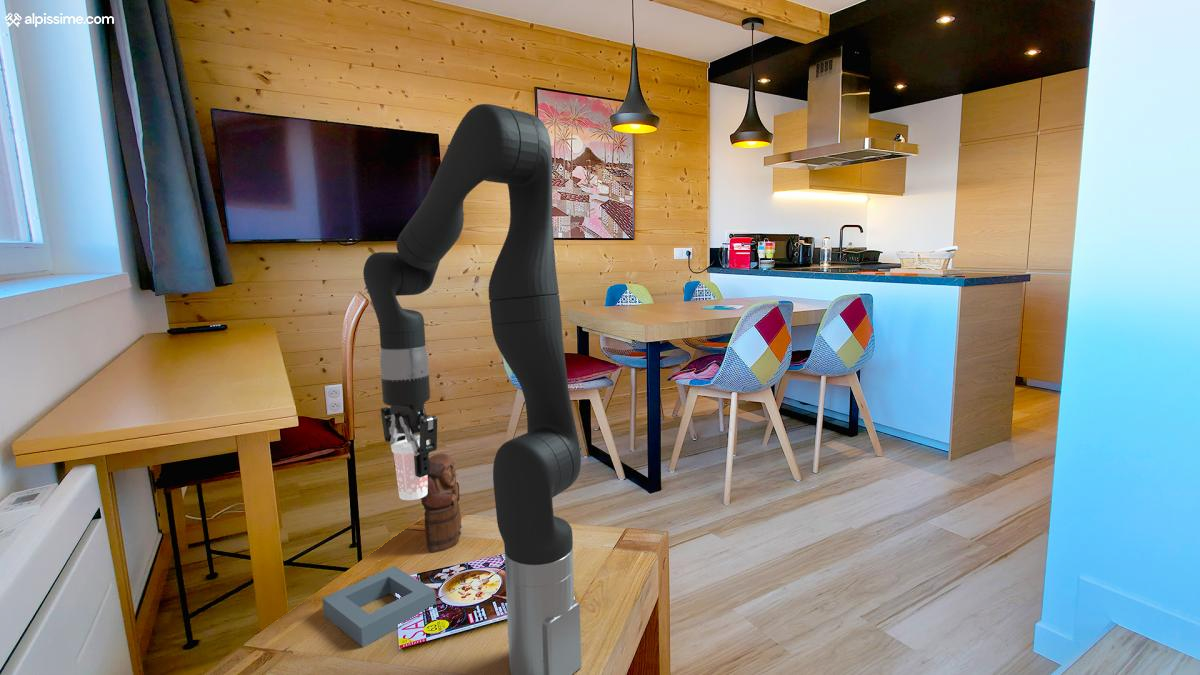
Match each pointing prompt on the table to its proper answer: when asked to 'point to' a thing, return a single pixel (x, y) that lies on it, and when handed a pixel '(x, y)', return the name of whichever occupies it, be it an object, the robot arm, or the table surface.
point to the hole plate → (377, 624)
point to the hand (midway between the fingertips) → (411, 471)
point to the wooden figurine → (442, 504)
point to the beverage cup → (408, 472)
